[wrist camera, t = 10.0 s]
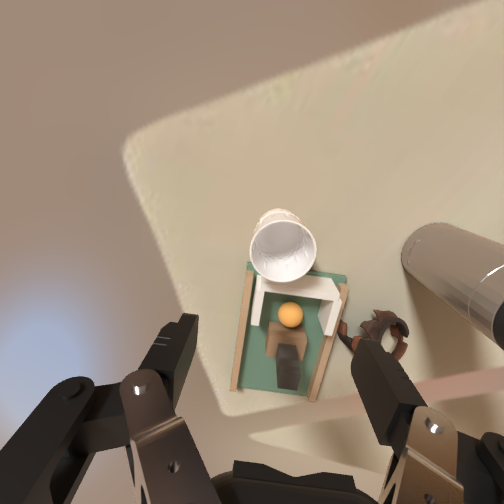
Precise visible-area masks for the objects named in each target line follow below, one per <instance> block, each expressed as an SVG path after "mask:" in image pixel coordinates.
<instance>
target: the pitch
mask: <svg viewBox="0 0 504 504" xmlns="http://www.w3.org/2000/svg"><path fill="white" fill-rule="evenodd" d="M346 280H347V278H346V276H345V275H338V274H331V273H324V272H317V271H310V270H309V271H308V272H307V273H306V274H305V275H303V276H302V277H300V278H299V279H297V280H294V281H290V282H274V281H270V280H268V279H266V278H264V277H263V276H261V275H260V274H259V273H258V272H257V271H256V270H255V268H254V267H253V265H252V263H251V262H247V270H246V276H245V284H244V291H243V298H242V305H241V312H240V320H239V327H238V334H237V341H236V348H235V356H234V363H233V370H232V377H231V384H230V391H233V392H236V388H237V387H241V388H249V389H256V390H264V391H271V392H278V393H286V394H293V395H301V396H307V397H308V402H315V400H316V397H317V394H318V390H319V387H320V384H321V381H322V377H323V374H324V371H325V367H326V364H327V361H328V358H329V354H330V351H331V348H332V344H333V341H334V338H335V335H336V331H337V328H338V325H339V321H340V318H341V315H342V312H343V308H344V305H345V302H346V298H347V295H348V292H349V289H348V287H347V286H346V284H345V283H346ZM286 302H294V303H296V304H298V305H299V306H300V307H301V309H302V311H303V319H302V321H301V323H300V324H299V325H304V329H305V333H306V337H307V345H306V348H305V352H304V356H303V360H302V361H299V366H300V372H301V378H300V382H299V386H298V390H297V391H295V390H288V389H280V388H277V373H276V357H270V356H266V347H265V339H266V334H267V328H268V323H269V321H276V322H280V320H279V318H278V311H279V308H280V307H281V305H283V304H284V303H286Z"/></svg>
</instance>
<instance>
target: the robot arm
mask: <svg viewBox="0 0 504 504" xmlns="http://www.w3.org/2000/svg"><path fill="white" fill-rule="evenodd" d="M401 260H402V264H403V266H404V268H405V270H406V271H407V272H408V273H409V274H410V275H412V276H413V277H414V278H415V279H417V280H418V281H419V282H420V283H422V284H423V285H424V286H425V287H426V288H428V289H429V290H430V291H431V292H432V293H434V294H435V295H436V296H437V297H439V298H440V299H441V300H442V301H444V302H445V303H446V304H447V305H449V306H450V307H451V308H452V309H453V310H455V311H456V312H457V313H458V314H460V315H461V316H462V317H463V318H465V319H466V320H467V321H468V322H470V323H471V324H472V325H473V326H474V327H476V328H477V329H478V330H479V331H481V332H482V333H483V334H485V335H486V336H487V337H488V338H489V339H491V340H492V341H493V342H494V343H496V344H497V345H498V346H499V347H501V348H502V349H503V350H504V245H503V244H500V243H498V242H495V241H492V240H490V239H487V238H484V237H482V236H479V235H476V234H473V233H471V232H468V231H466V230H463V229H460V228H458V227H455V226H452V225H449V224H445V223H433V224H429V225H426V226H424V227H422V228H420V229H418V230H417V231H415V232H414V233H413V234H412V235H411V236H410V237H409V238H408V240H407V241H406V243H405V245H404V247H403V250H402V257H401ZM198 320H199V316H198V315H195V314H188V313H183V314H182V316H181V318H180V320H179V322H178V323H175V322H169V323H168V324H167V325H166V326H164V327H163V328H162V329H161V331H160V332H159V334H158V336H157V338H156V339H155V341H154V343H153V345H152V346H151V348H150V349H149V351H148V353H147V355H146V356H145V358H144V360H143V361H142V363H141V365H140V367H139V368H138V370H136V371H134V372H132V373H130V374H128V375H127V376H126V377H125V378H124V379H123V380H122V382H119V383H115V384H109V385H102V386H94V382H93V381H92V380H91V379H90V378H87V377H81V376H79V377H72V378H69V379H66V380H64V381H62V382H61V383H58V384H57V385H56V386H54V387H53V388H52V389H51V390H50V391H49V392H48V394H47V395H46V396H45V397H44V398H43V400H42V401H41V402H40V403H39V405H38V406H37V407H36V408H35V409H34V411H33V412H32V413H31V414H30V415H29V417H28V418H27V419H26V420H25V421H24V423H23V424H22V425H21V426H20V427H19V429H18V430H17V431H16V432H15V434H14V435H13V436H12V437H11V439H10V440H9V441H8V442H7V443H6V445H5V446H4V447H3V448H2V449H1V450H0V504H70V503H71V501H72V499H73V497H74V495H75V493H76V491H77V489H78V487H79V485H80V483H81V481H82V479H83V477H84V475H85V473H86V471H87V469H88V467H89V465H90V463H91V461H92V459H93V457H94V455H95V453H96V452H99V451H104V450H108V449H113V448H118V447H122V446H124V450H125V454H126V459H127V463H128V468H129V472H130V477H131V482H132V487H133V491H134V496H135V502H136V504H504V436H502V435H499V434H497V433H493V432H487V433H485V434H484V435H483V436H482V438H481V439H480V440H479V439H476V438H474V437H471V436H469V435H466V434H464V433H461V432H459V431H456V429H455V427H454V426H453V424H452V423H451V422H450V421H449V420H448V419H447V418H446V417H445V416H444V415H442V414H441V413H440V412H438V411H436V410H434V409H432V408H430V407H428V406H427V404H426V403H425V401H424V400H423V399H422V397H421V395H420V394H419V392H418V391H417V389H416V387H415V386H414V384H413V383H412V381H411V380H409V377H408V375H407V374H406V372H404V369H403V368H402V366H401V365H400V363H399V362H398V360H397V359H395V358H394V357H393V356H392V355H391V354H390V353H389V352H385V350H384V349H383V347H382V345H381V344H380V342H379V341H378V340H374V339H367V338H360V340H359V342H358V344H357V347H356V350H355V353H354V356H353V359H352V362H351V374H352V377H353V379H354V382H355V384H356V387H357V389H358V392H359V394H360V397H361V399H362V402H363V404H364V406H365V409H366V412H367V414H368V417H369V419H370V422H371V424H372V427H373V429H374V432H375V434H376V437H377V439H378V442H379V444H380V445H386V446H392V449H393V451H394V452H393V454H392V456H391V459H390V462H389V466H388V469H387V473H386V476H385V480H384V483H383V487H382V490H381V494H380V497H379V500H378V502H377V501H375V500H374V499H373V498H371V497H370V496H369V495H367V494H366V493H364V492H362V491H360V490H359V489H356V487H355V483H354V479H353V476H349V475H342V474H335V473H327V472H321V473H316V474H310V475H305V476H300V477H292V476H290V475H287V474H285V473H283V472H280V471H278V470H276V469H273V468H271V467H269V466H267V465H264V464H259V463H251V462H243V461H236V460H234V464H233V470H232V471H229V472H225V473H222V474H219V475H217V476H215V477H213V478H212V479H211V478H210V477H209V474H208V472H207V469H206V467H205V465H204V463H203V460H202V458H201V456H200V454H199V451H198V449H197V447H196V444H195V442H194V440H193V438H192V435H191V433H190V431H189V429H188V426H187V424H186V422H185V420H184V419H183V418H182V417H179V418H178V417H177V415H176V414H175V408H176V405H177V402H178V399H179V397H180V394H181V390H182V388H183V385H184V382H185V379H186V376H187V373H188V370H189V368H190V365H191V362H192V359H193V356H194V353H195V349H196V344H197V334H198Z"/></svg>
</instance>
